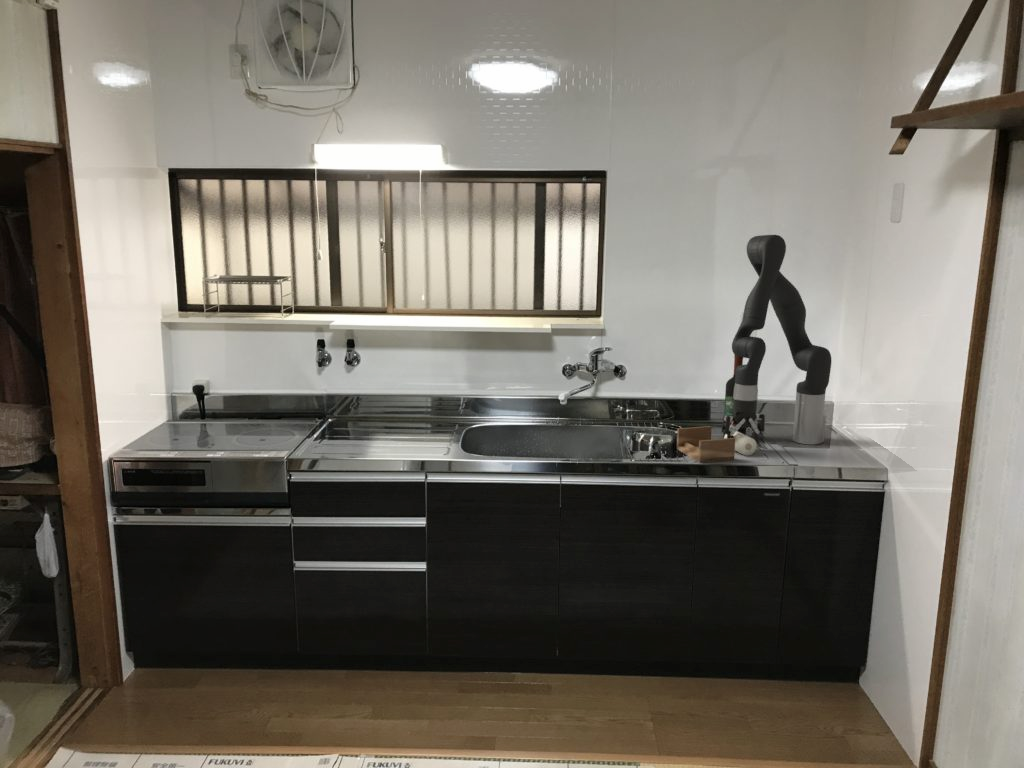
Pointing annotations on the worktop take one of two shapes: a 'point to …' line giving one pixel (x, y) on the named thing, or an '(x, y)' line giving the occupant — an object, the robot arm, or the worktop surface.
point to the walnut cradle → (704, 445)
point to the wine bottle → (732, 393)
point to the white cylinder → (744, 443)
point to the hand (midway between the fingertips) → (742, 445)
